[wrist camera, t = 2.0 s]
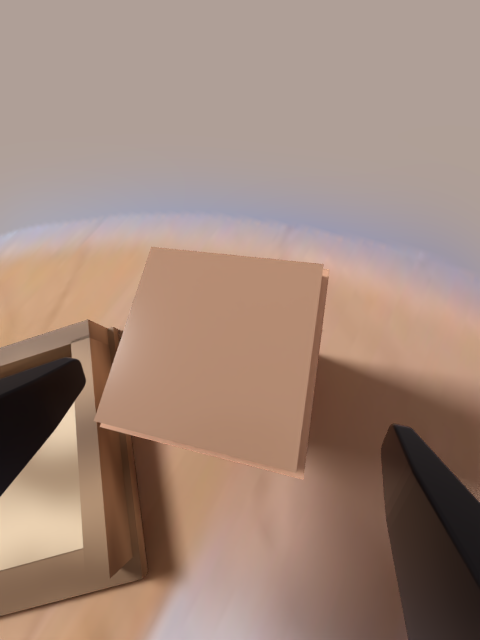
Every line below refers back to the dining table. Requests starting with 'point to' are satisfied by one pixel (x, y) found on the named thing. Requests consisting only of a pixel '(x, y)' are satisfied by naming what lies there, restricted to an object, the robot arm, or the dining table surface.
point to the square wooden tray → (71, 487)
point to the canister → (220, 357)
